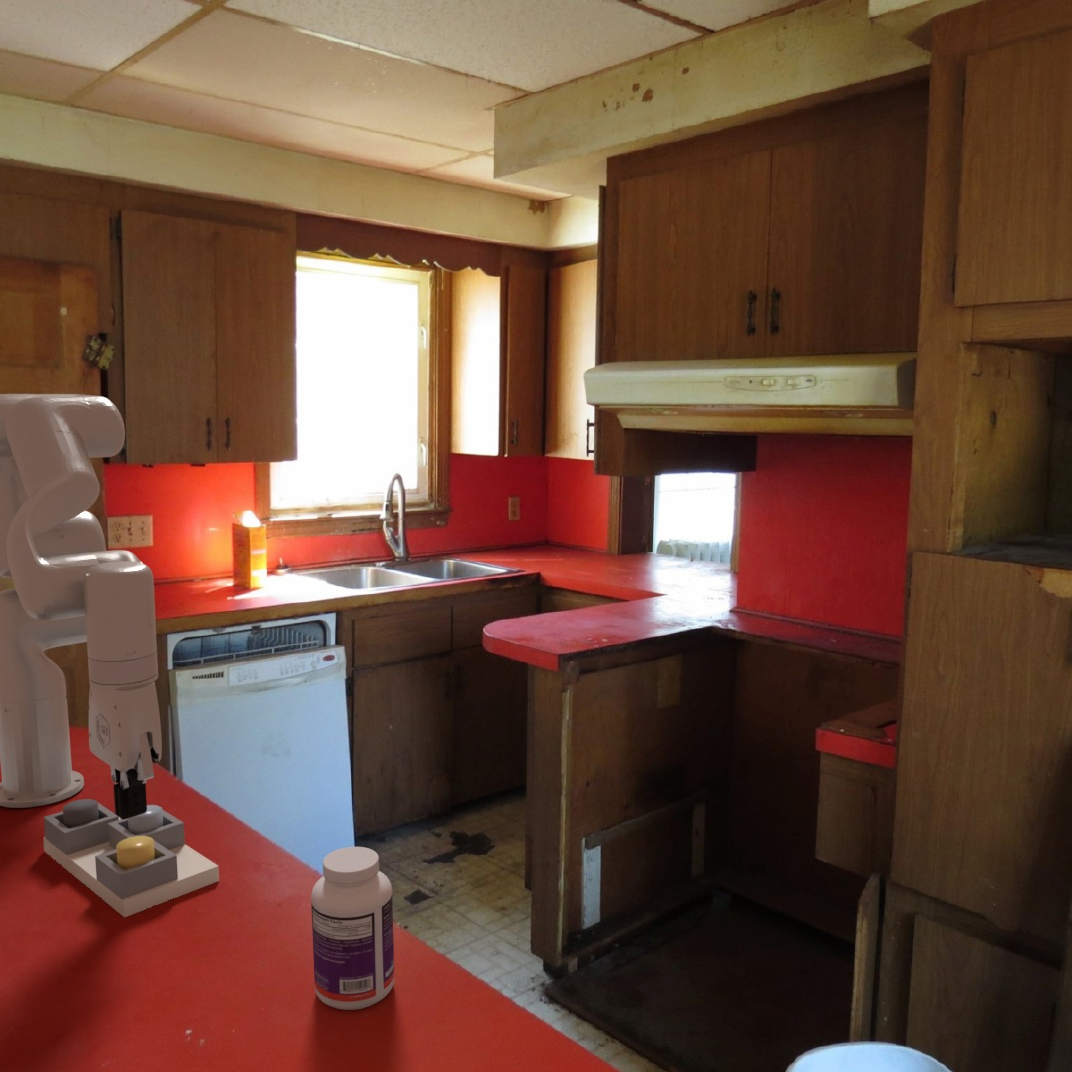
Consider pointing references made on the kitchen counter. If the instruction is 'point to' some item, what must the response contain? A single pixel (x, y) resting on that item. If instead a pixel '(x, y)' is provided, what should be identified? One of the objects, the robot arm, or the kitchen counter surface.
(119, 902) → the console
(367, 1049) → the kitchen counter surface
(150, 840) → the mustard button
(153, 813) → the slate button
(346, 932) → the pill bottle
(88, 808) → the charcoal button
